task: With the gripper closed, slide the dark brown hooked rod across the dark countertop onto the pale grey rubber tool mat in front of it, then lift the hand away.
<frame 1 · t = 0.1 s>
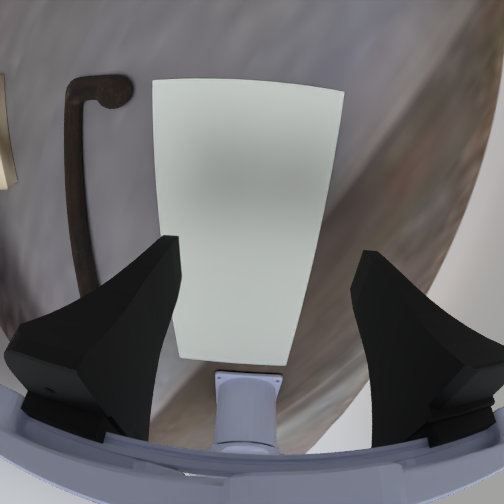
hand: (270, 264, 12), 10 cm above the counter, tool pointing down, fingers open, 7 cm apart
dark brown hooked rod: (110, 250, 25), on the counter
tool mat: (236, 263, 24), on the counter
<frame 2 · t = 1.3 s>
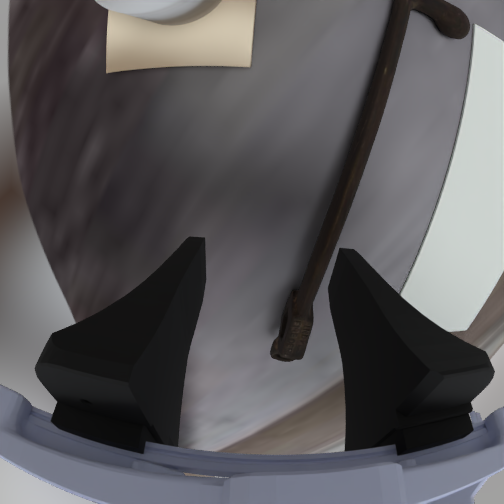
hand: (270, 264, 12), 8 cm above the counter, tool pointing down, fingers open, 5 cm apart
dark brown hooked rod: (361, 193, 19), on the counter
tool mat: (488, 215, 19), on the counter
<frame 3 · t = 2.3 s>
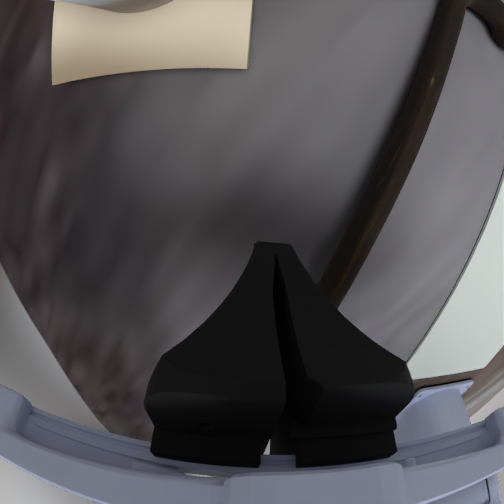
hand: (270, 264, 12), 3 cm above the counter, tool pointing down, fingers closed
dark brown hooked rod: (374, 236, 15), on the counter
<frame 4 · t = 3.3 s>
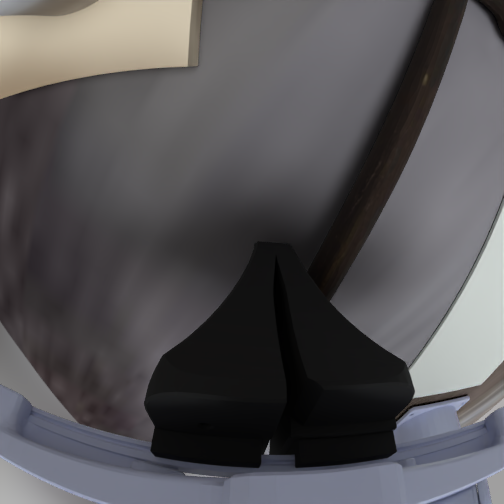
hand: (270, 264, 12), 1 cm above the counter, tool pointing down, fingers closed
dark brown hooked rod: (351, 261, 13), on the counter, touching gripper
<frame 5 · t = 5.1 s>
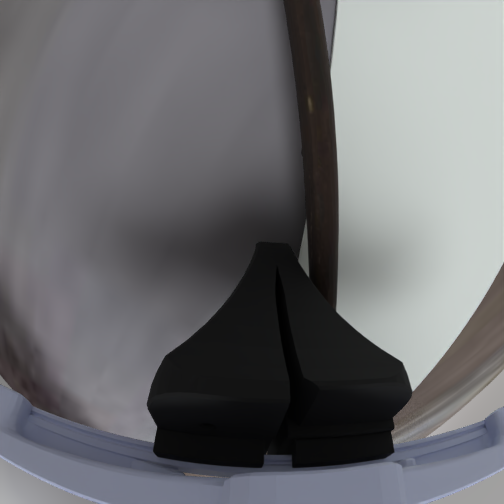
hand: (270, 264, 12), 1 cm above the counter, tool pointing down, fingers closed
dark brown hooked rod: (353, 280, 13), resting on tool mat, touching gripper
tool mat: (421, 261, 13), on the counter
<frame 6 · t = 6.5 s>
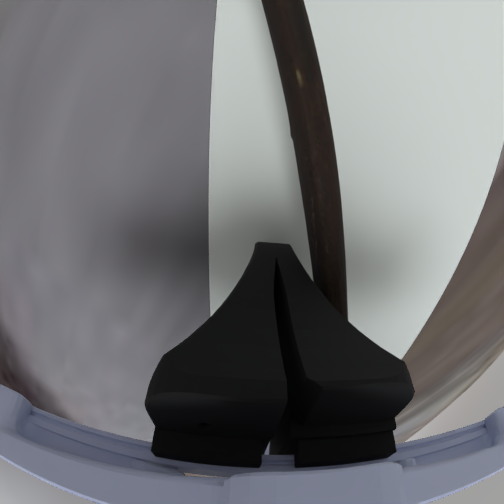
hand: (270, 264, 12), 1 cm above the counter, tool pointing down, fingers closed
dark brown hooked rod: (353, 266, 13), resting on tool mat, touching gripper
tool mat: (351, 255, 13), on the counter
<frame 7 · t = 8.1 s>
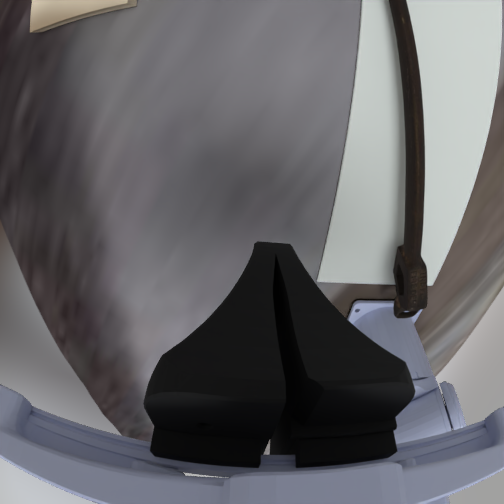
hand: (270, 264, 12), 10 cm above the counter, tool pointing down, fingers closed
dark brown hooked rod: (424, 136, 18), resting on tool mat
tool mat: (426, 129, 17), on the counter
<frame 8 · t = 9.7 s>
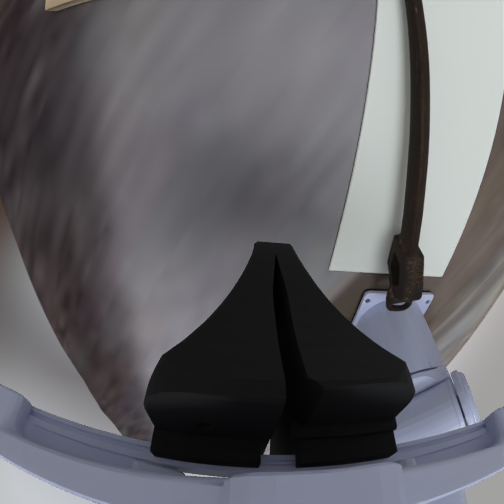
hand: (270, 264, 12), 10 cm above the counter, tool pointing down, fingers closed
dark brown hooked rod: (428, 125, 17), resting on tool mat
tool mat: (439, 118, 17), on the counter
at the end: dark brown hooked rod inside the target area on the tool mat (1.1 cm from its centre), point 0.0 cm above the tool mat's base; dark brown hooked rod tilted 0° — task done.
